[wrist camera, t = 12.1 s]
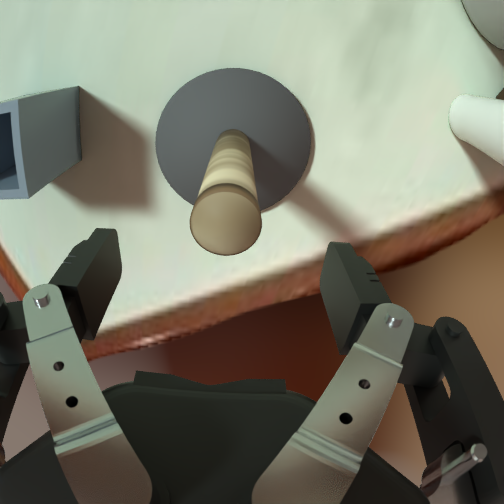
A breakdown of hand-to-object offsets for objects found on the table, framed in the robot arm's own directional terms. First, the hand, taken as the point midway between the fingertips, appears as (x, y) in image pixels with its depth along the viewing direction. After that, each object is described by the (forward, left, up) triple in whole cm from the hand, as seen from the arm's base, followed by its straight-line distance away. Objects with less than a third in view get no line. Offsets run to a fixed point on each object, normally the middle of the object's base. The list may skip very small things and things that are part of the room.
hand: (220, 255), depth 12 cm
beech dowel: (0, 0, -18) cm, 18 cm away
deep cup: (-2, -19, -19) cm, 27 cm away
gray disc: (0, 0, -19) cm, 19 cm away
